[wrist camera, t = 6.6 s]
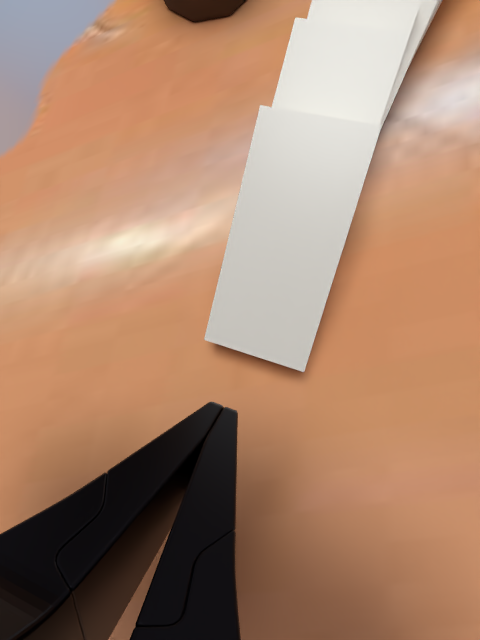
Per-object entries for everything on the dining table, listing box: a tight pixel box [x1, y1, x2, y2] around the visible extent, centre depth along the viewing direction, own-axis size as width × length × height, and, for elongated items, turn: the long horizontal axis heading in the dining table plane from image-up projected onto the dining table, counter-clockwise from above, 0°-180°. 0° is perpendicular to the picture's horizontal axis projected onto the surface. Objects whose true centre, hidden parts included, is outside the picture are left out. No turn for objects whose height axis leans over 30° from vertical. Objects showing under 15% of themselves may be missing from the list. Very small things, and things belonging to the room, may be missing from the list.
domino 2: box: [272, 18, 410, 125], centre depth 17 cm, size 2×5×11 cm
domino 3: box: [307, 0, 422, 33], centre depth 18 cm, size 2×5×11 cm
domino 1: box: [204, 105, 382, 372], centre depth 16 cm, size 2×5×11 cm
